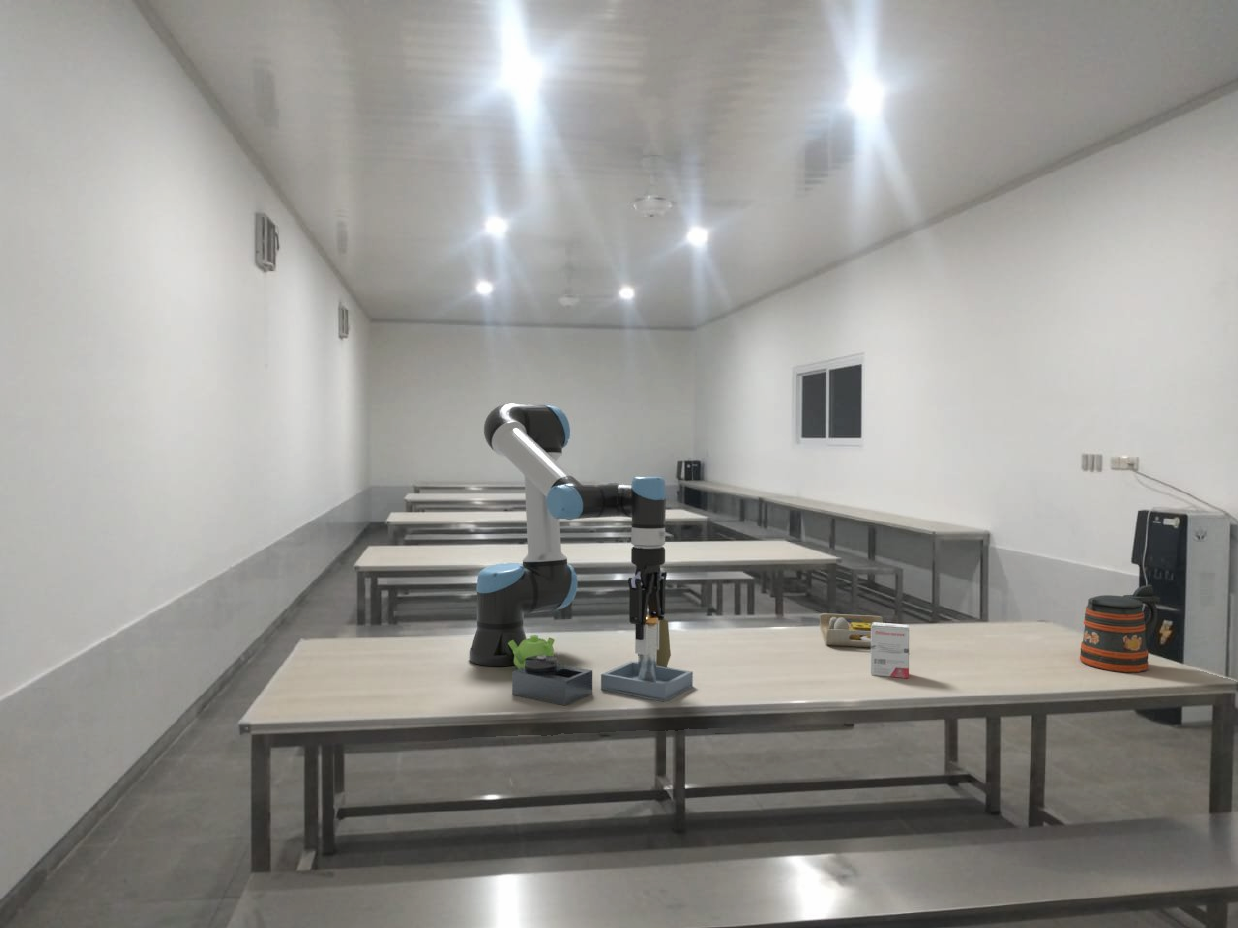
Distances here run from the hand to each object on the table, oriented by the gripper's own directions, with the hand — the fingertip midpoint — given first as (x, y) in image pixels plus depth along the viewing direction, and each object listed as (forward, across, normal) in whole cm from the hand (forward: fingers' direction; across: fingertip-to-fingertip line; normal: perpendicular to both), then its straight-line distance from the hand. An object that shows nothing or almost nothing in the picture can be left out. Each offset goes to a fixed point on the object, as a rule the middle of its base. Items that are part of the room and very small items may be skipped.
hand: (647, 650), depth 176 cm
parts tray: (+8, 0, 0) cm, 8 cm away
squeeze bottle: (+8, +14, +6) cm, 17 cm away
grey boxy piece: (+8, -15, +15) cm, 23 cm away
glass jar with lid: (+7, 0, 0) cm, 7 cm away
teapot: (+8, -3, +30) cm, 31 cm away
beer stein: (+8, +82, -90) cm, 122 cm away
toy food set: (+9, +73, -26) cm, 78 cm away
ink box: (+8, +41, -43) cm, 60 cm away
